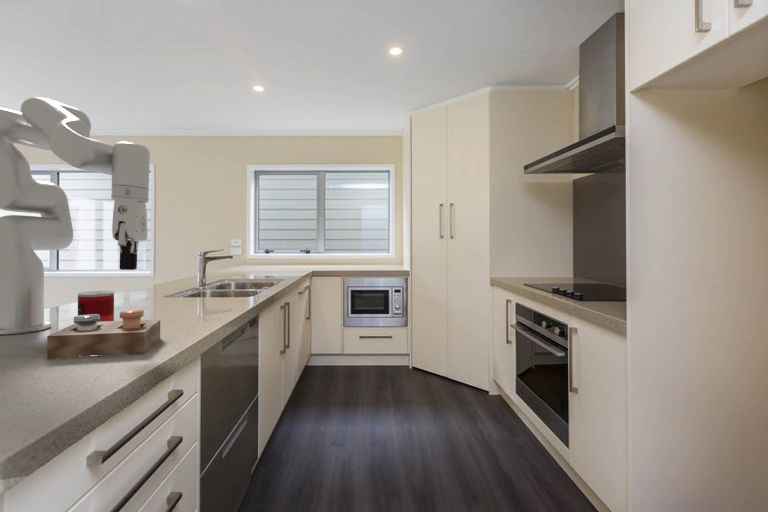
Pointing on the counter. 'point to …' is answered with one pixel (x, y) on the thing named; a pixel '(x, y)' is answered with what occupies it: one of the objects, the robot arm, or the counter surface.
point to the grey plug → (87, 321)
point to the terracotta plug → (131, 318)
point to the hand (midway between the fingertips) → (128, 269)
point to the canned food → (97, 304)
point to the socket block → (103, 340)
